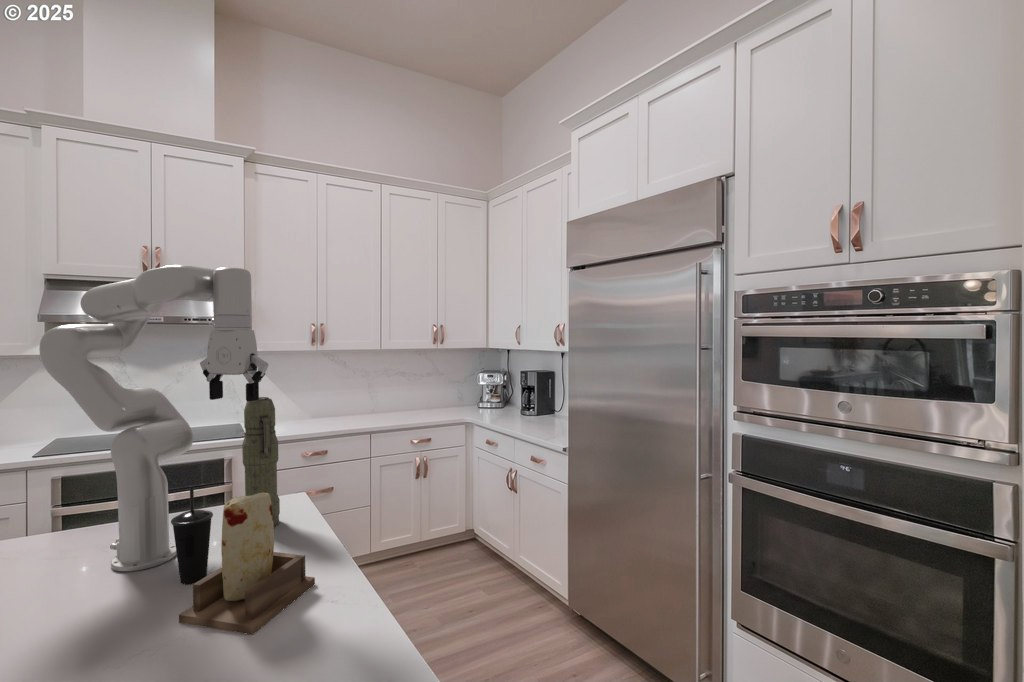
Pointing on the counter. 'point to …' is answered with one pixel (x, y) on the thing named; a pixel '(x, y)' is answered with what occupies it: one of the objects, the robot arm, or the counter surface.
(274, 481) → the thermos
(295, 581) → the dock
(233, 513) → the food model
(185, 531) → the drinking cup
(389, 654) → the counter surface
